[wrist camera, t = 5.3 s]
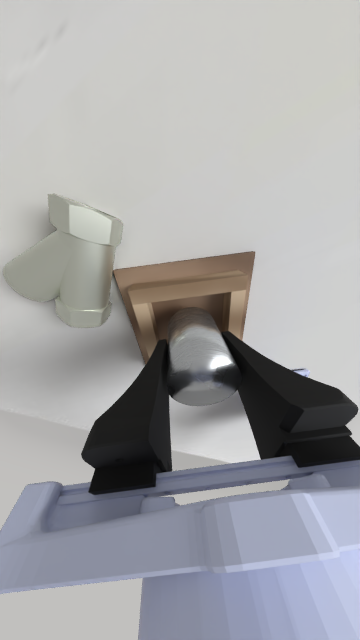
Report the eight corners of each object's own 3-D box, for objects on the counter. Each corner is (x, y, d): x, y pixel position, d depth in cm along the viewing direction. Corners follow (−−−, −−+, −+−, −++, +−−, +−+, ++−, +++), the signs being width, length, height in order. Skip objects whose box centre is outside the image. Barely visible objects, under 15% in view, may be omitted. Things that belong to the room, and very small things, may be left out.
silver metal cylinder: (212, 344, 15) (235, 402, 10) (169, 347, 15) (169, 408, 9) (216, 305, 12) (249, 355, 7) (165, 308, 12) (163, 361, 7)
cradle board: (236, 349, 19) (246, 365, 17) (147, 361, 19) (144, 379, 17) (249, 250, 13) (268, 254, 10) (116, 268, 13) (104, 276, 10)
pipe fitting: (40, 289, 13) (114, 311, 15) (-7, 306, 10) (93, 334, 11) (27, 180, 10) (128, 222, 11) (-56, 149, 6) (104, 215, 7)
